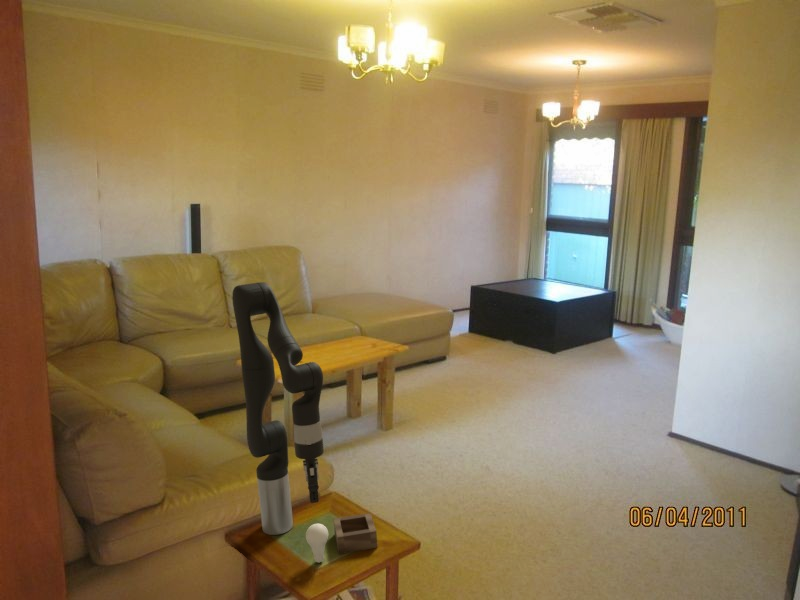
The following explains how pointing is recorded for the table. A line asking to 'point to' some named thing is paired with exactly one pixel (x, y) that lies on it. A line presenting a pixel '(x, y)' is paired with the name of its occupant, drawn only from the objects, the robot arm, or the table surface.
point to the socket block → (355, 533)
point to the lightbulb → (317, 540)
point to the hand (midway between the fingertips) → (313, 495)
